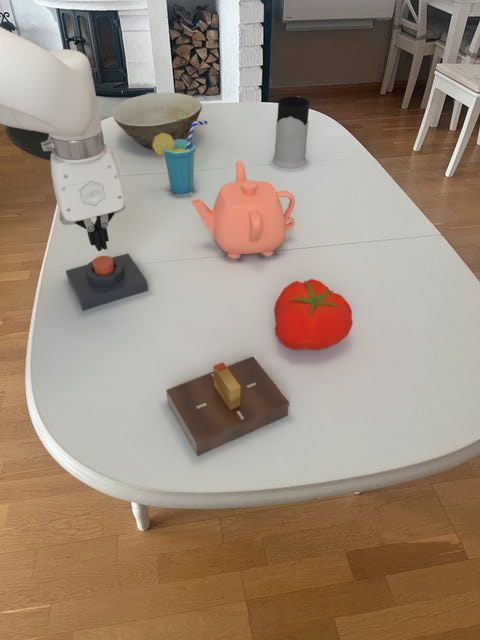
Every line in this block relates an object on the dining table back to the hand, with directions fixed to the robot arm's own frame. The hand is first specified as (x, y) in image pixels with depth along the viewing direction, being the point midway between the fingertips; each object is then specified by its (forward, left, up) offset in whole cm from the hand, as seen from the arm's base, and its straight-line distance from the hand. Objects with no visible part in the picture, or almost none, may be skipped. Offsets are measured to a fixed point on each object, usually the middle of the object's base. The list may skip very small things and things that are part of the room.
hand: (100, 246), depth 90 cm
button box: (0, 0, -8) cm, 8 cm away
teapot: (+29, +1, -9) cm, 30 cm away
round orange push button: (0, 0, -5) cm, 5 cm away
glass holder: (+60, +31, -9) cm, 68 cm away
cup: (+28, +28, -9) cm, 40 cm away
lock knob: (+6, -36, -5) cm, 37 cm away
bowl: (+33, +56, -9) cm, 65 cm away
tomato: (+25, -29, -9) cm, 39 cm away
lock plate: (+6, -36, -8) cm, 38 cm away
